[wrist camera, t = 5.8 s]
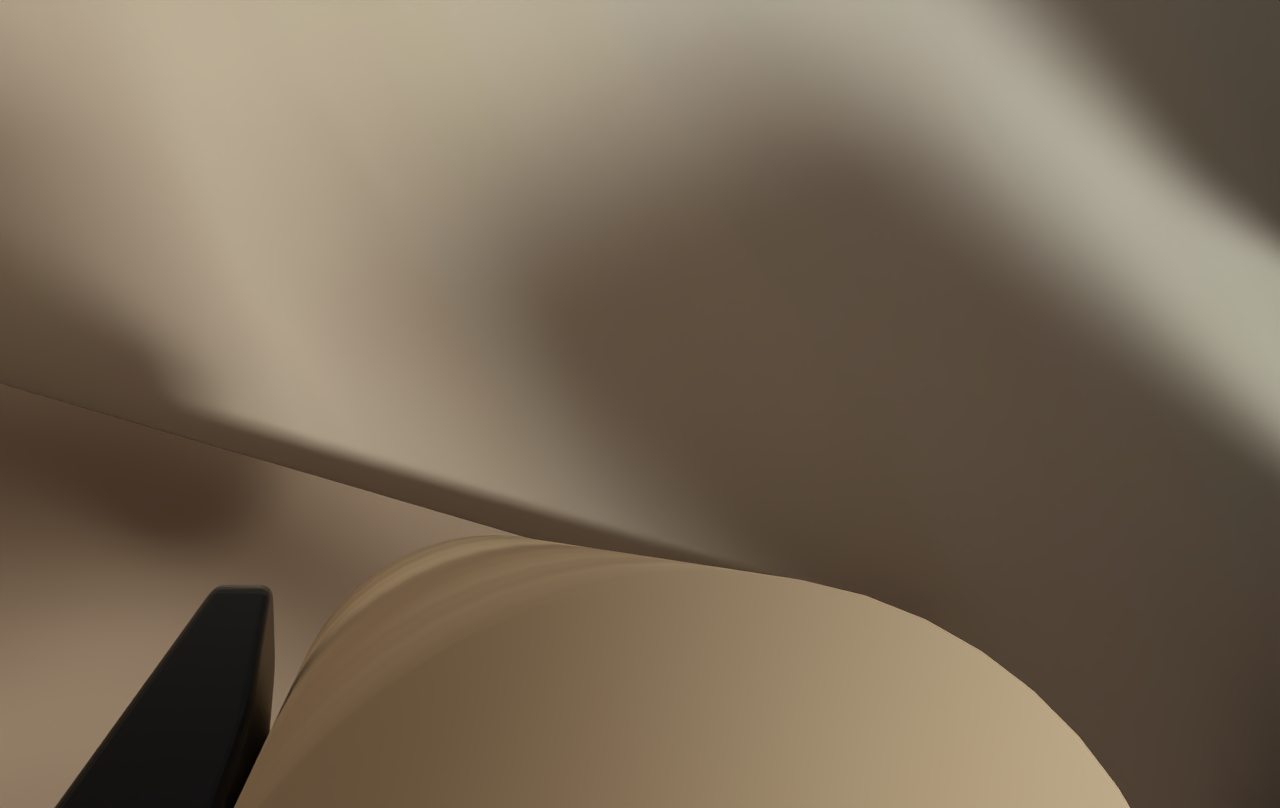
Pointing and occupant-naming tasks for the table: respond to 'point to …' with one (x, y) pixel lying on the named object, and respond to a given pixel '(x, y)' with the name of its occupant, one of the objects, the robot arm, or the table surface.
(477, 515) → the table surface
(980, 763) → the beige round column
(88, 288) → the table surface
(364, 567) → the board
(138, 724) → the robot arm
